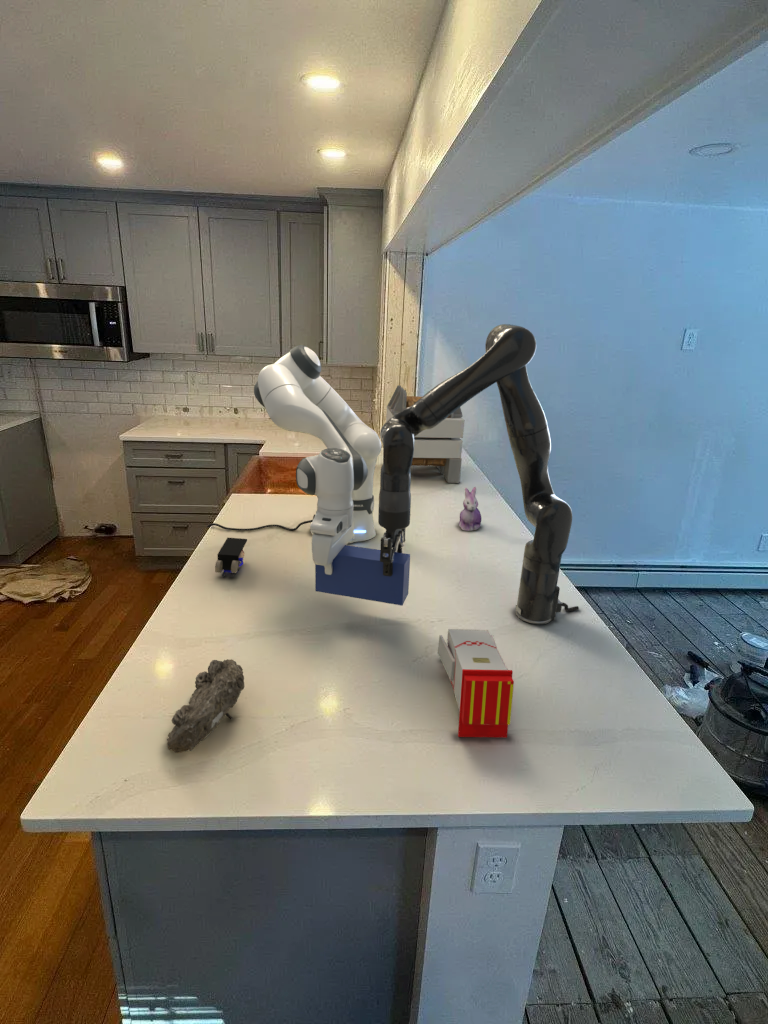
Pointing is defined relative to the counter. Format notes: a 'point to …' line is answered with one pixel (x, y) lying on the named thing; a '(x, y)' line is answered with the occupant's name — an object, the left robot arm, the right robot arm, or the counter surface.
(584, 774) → the counter surface
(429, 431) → the grey slatted crate
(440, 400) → the right robot arm
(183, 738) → the fossil
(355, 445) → the left robot arm
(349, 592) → the box
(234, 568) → the figurine character
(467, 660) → the toy
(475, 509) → the figurine
